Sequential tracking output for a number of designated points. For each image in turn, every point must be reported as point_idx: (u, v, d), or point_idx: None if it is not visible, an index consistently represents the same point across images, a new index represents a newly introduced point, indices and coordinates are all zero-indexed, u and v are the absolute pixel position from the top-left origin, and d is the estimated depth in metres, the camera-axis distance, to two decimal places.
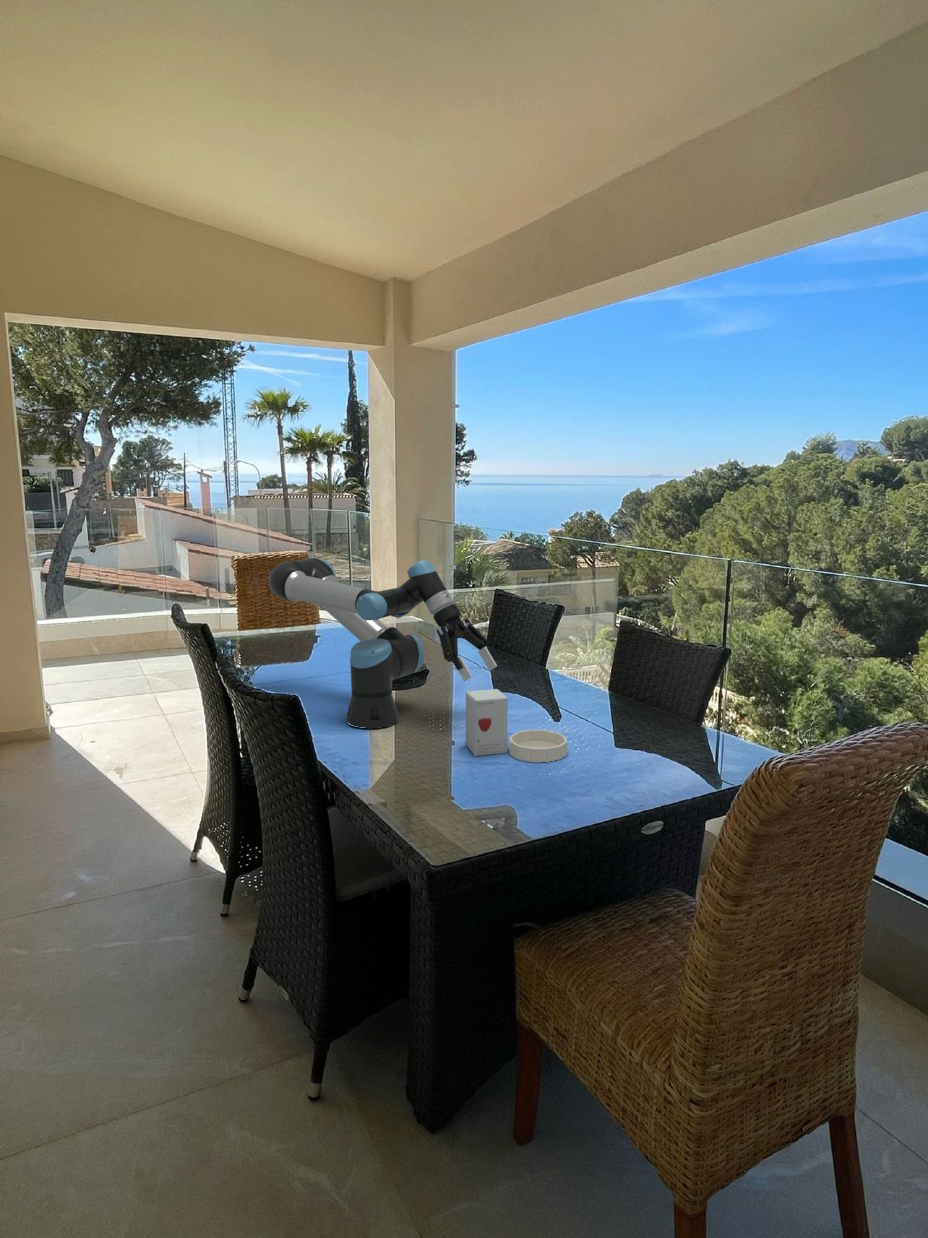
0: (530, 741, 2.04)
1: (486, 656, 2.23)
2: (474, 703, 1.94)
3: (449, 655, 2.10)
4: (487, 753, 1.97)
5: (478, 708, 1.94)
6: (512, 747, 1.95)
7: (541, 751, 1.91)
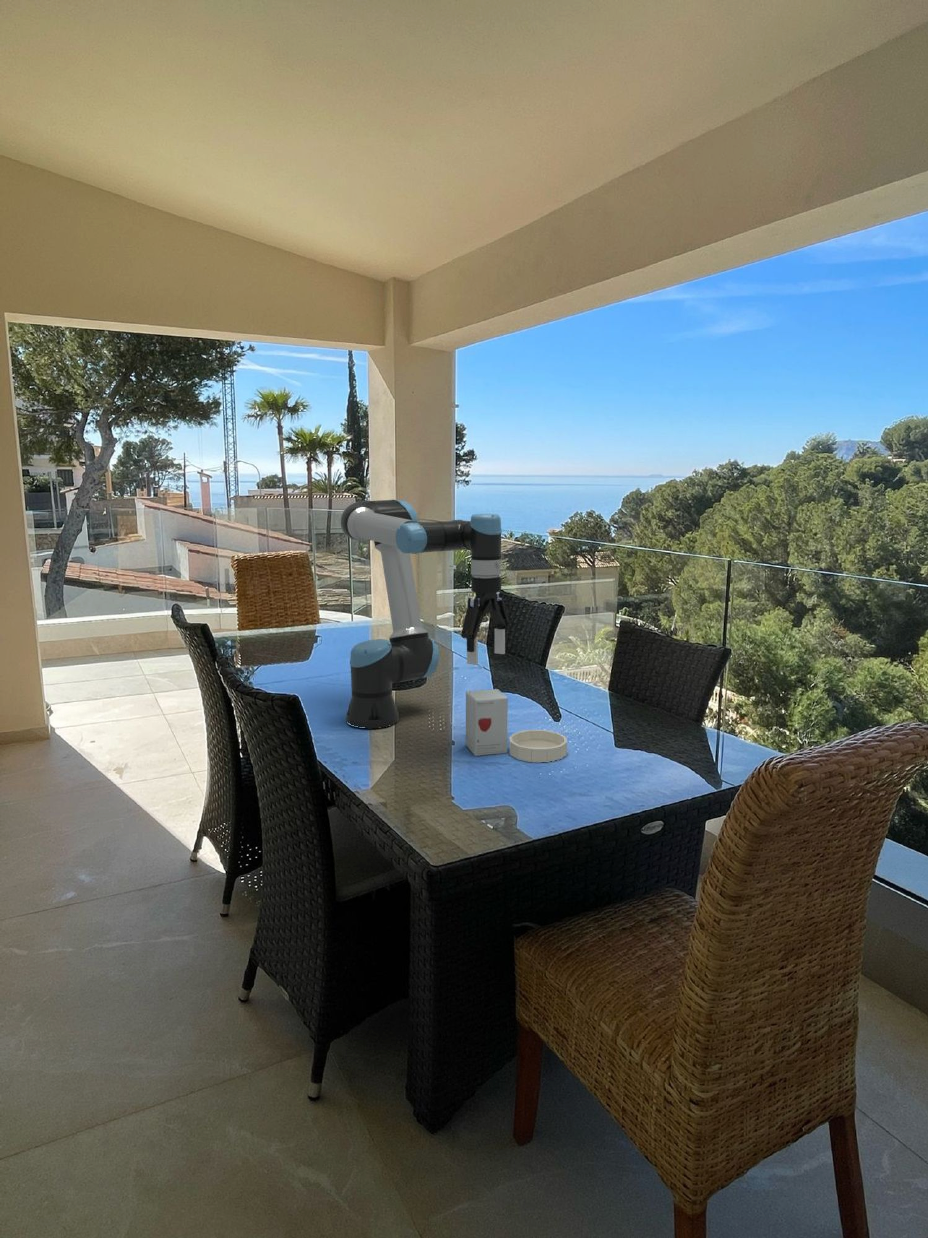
0: (530, 741, 2.04)
1: (500, 639, 2.01)
2: (474, 703, 1.94)
3: (467, 635, 1.86)
4: (487, 753, 1.97)
5: (478, 708, 1.94)
6: (512, 747, 1.95)
7: (541, 751, 1.91)
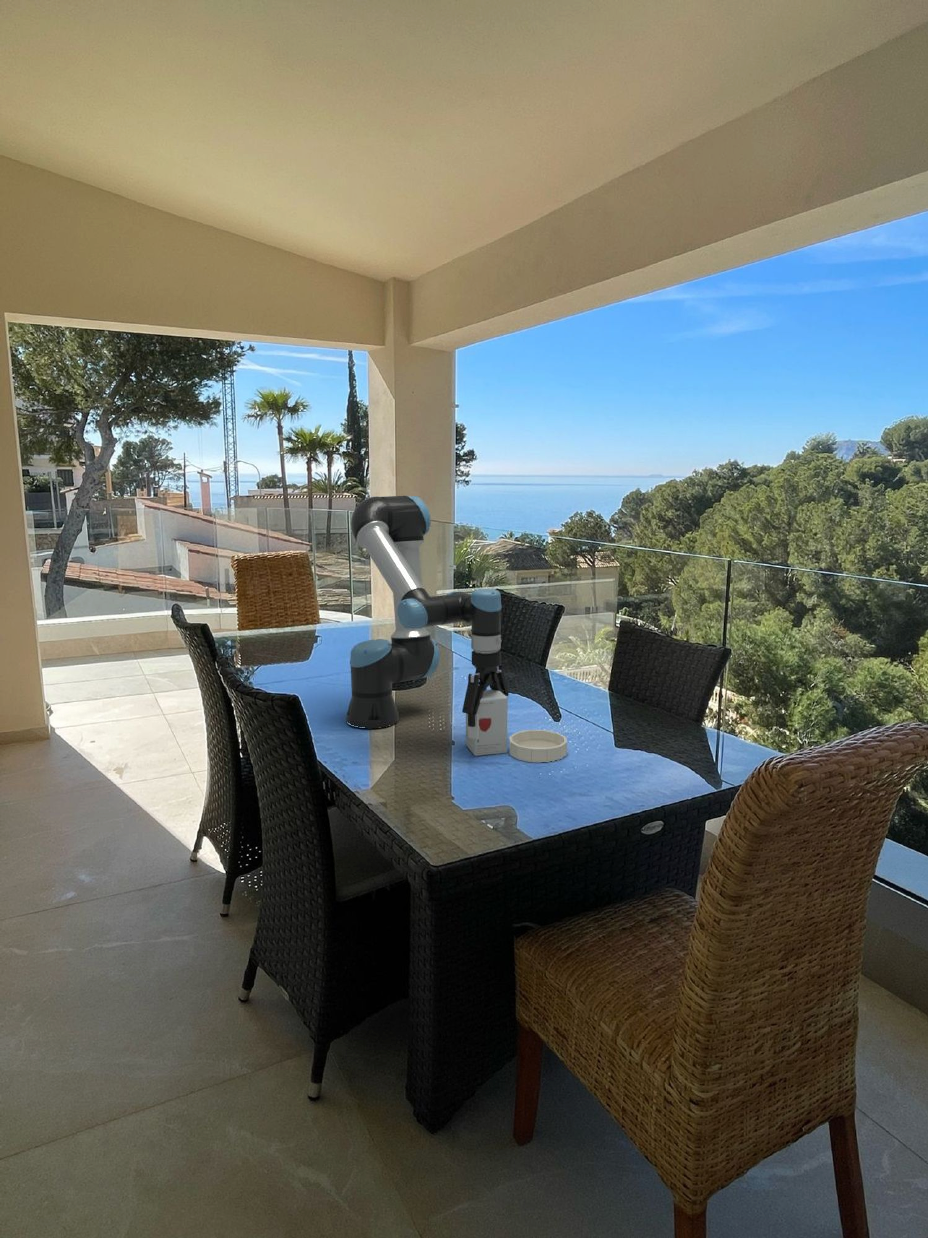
0: (530, 741, 2.04)
1: None
2: None
3: (469, 712, 1.90)
4: (487, 753, 1.97)
5: (478, 708, 1.94)
6: (512, 747, 1.95)
7: (541, 751, 1.91)
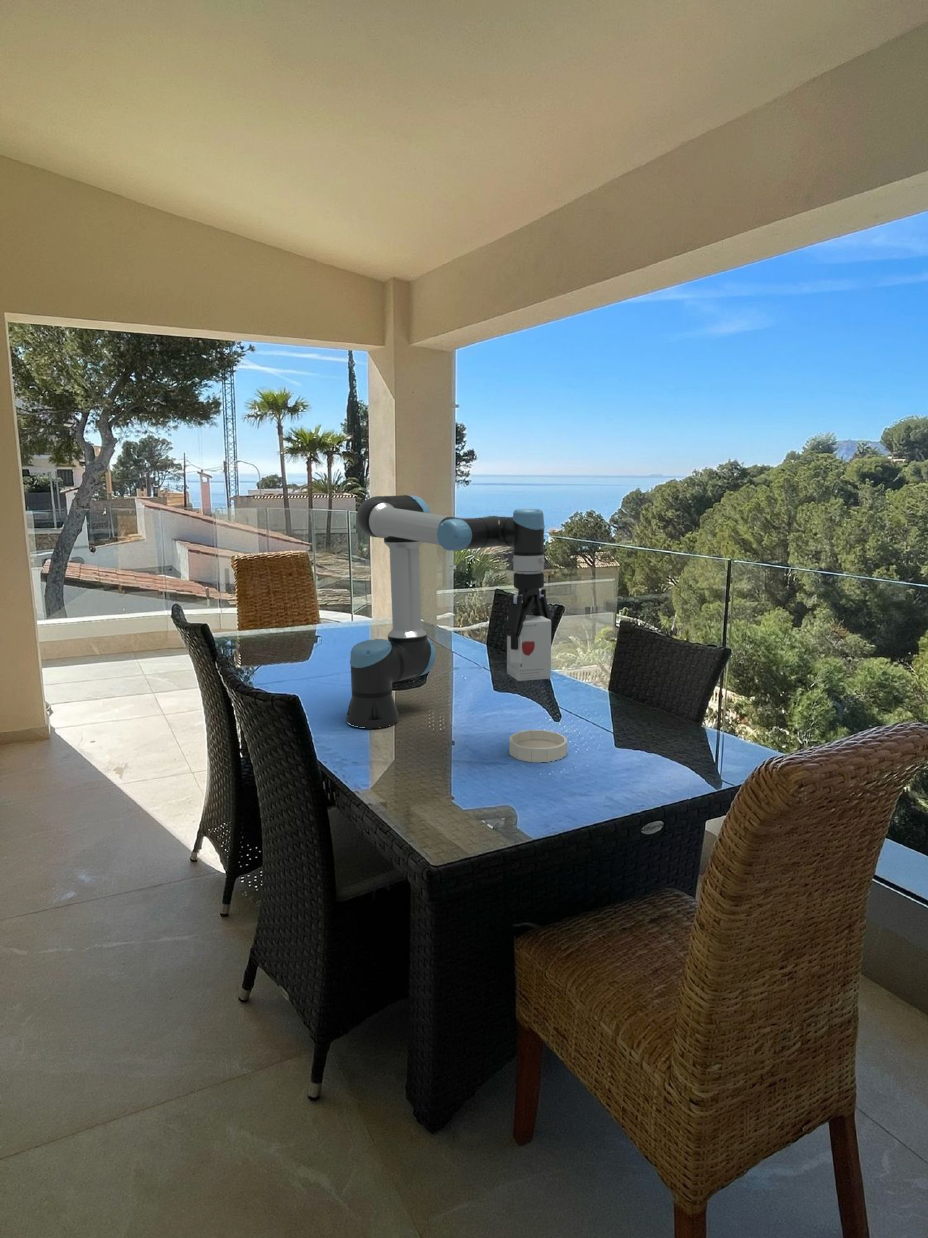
0: (530, 741, 2.04)
1: None
2: None
3: (512, 633, 1.84)
4: (530, 678, 1.90)
5: (521, 630, 1.88)
6: (512, 747, 1.95)
7: (541, 751, 1.91)
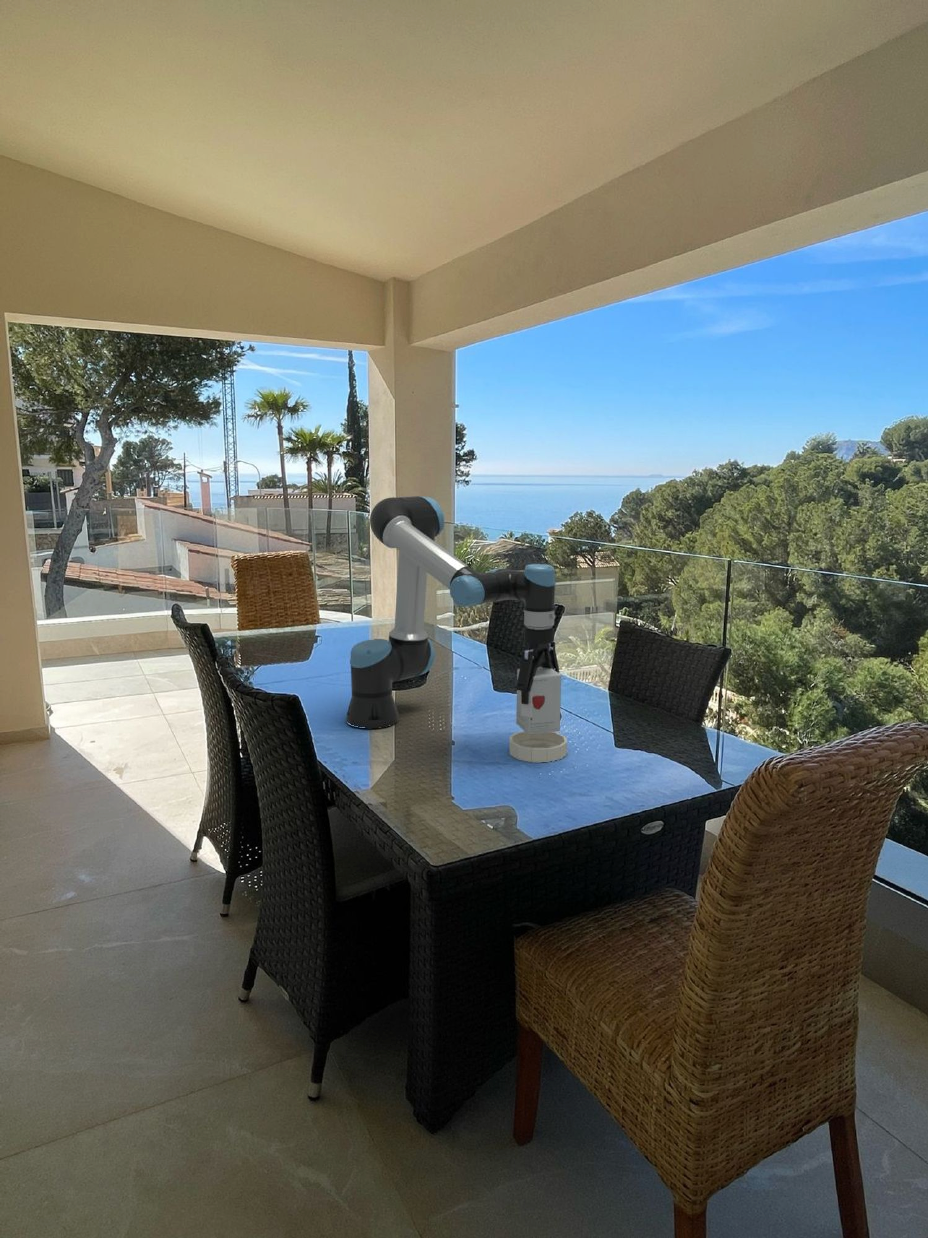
0: (530, 741, 2.04)
1: None
2: None
3: (523, 689, 1.87)
4: (540, 731, 1.93)
5: (532, 685, 1.90)
6: (512, 747, 1.95)
7: (541, 751, 1.91)
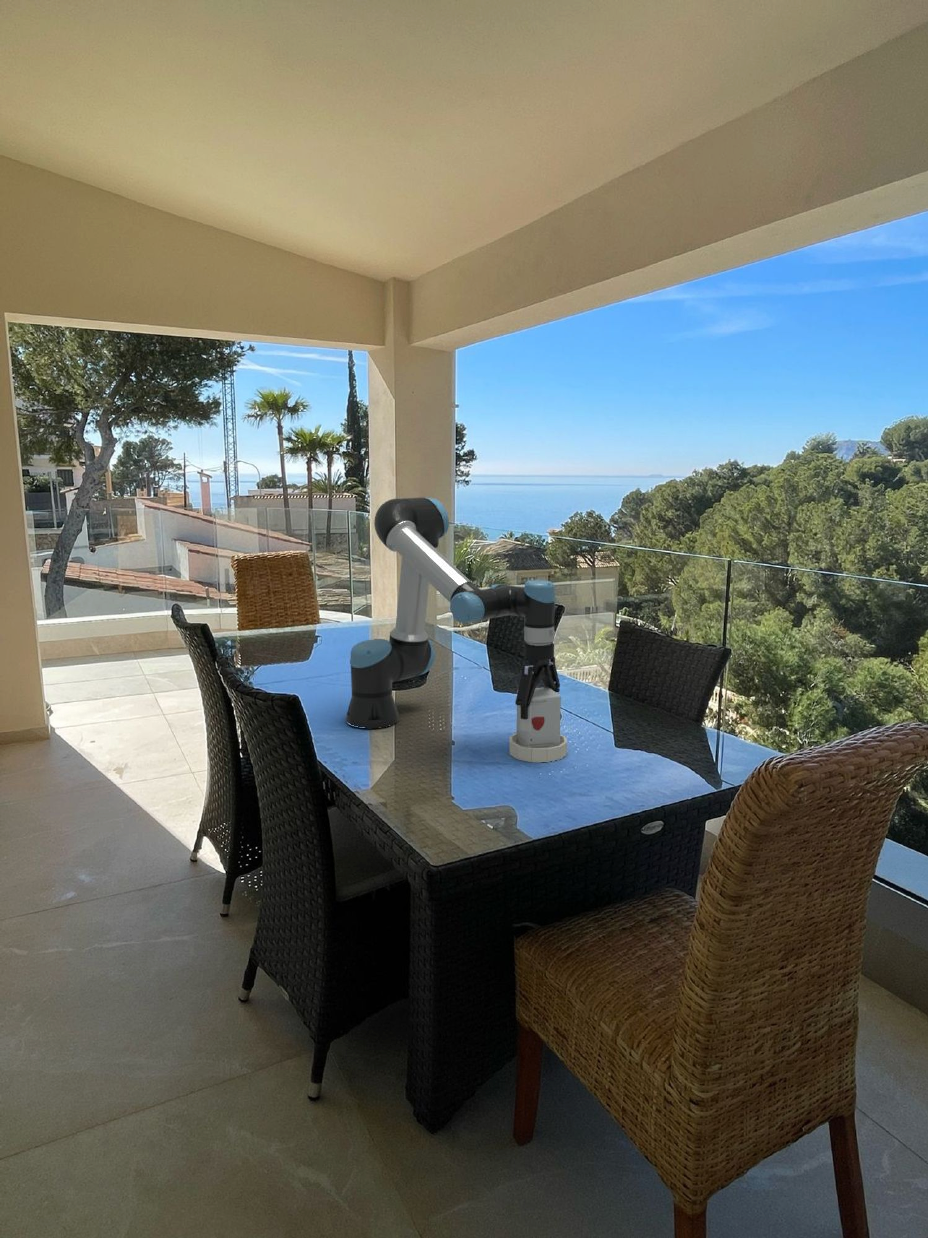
0: None
1: None
2: None
3: (522, 704, 1.87)
4: None
5: None
6: (512, 747, 1.95)
7: (541, 751, 1.91)
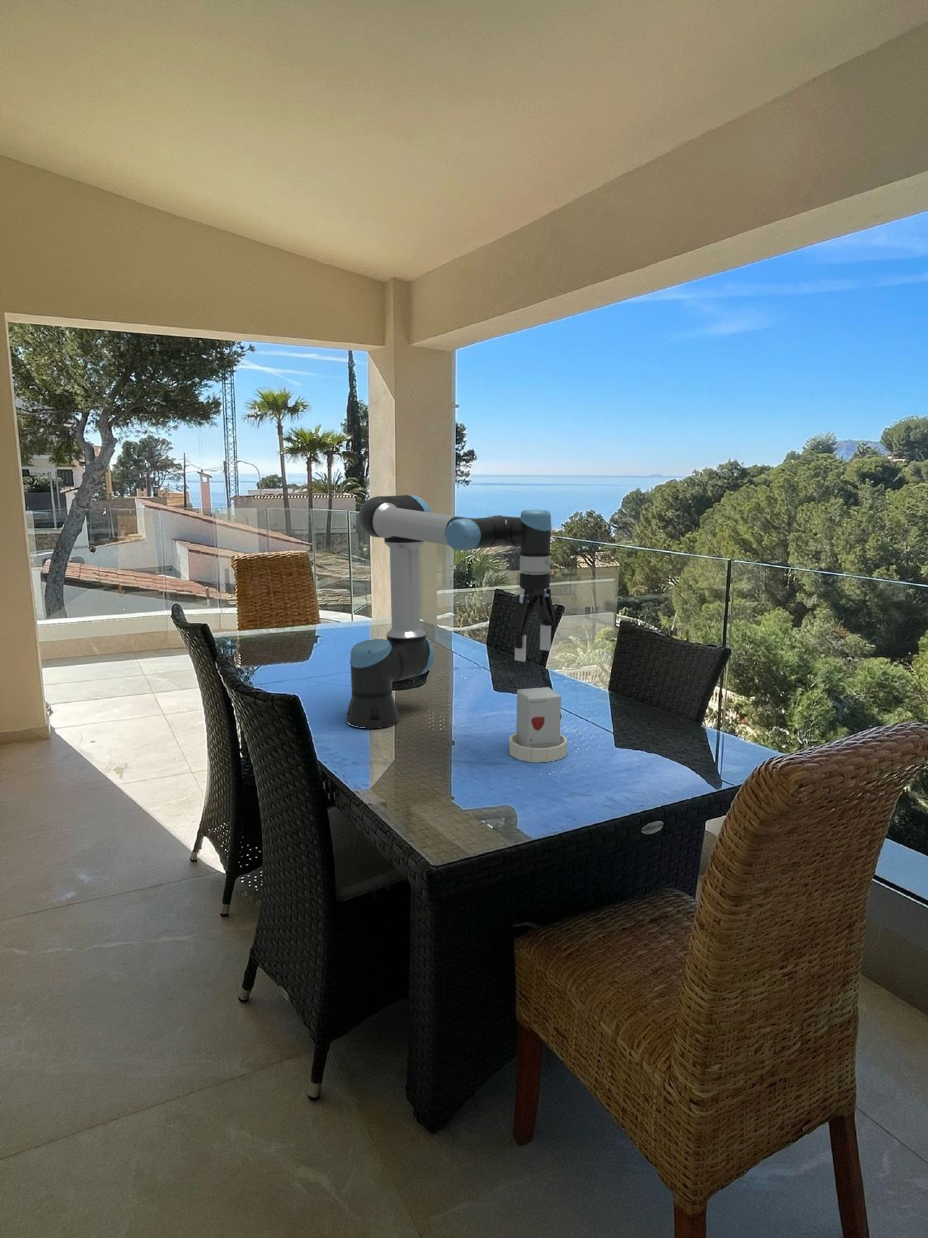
0: None
1: (545, 635, 2.01)
2: (527, 702, 1.92)
3: (517, 632, 1.86)
4: None
5: (531, 706, 1.91)
6: (512, 747, 1.95)
7: (541, 751, 1.91)
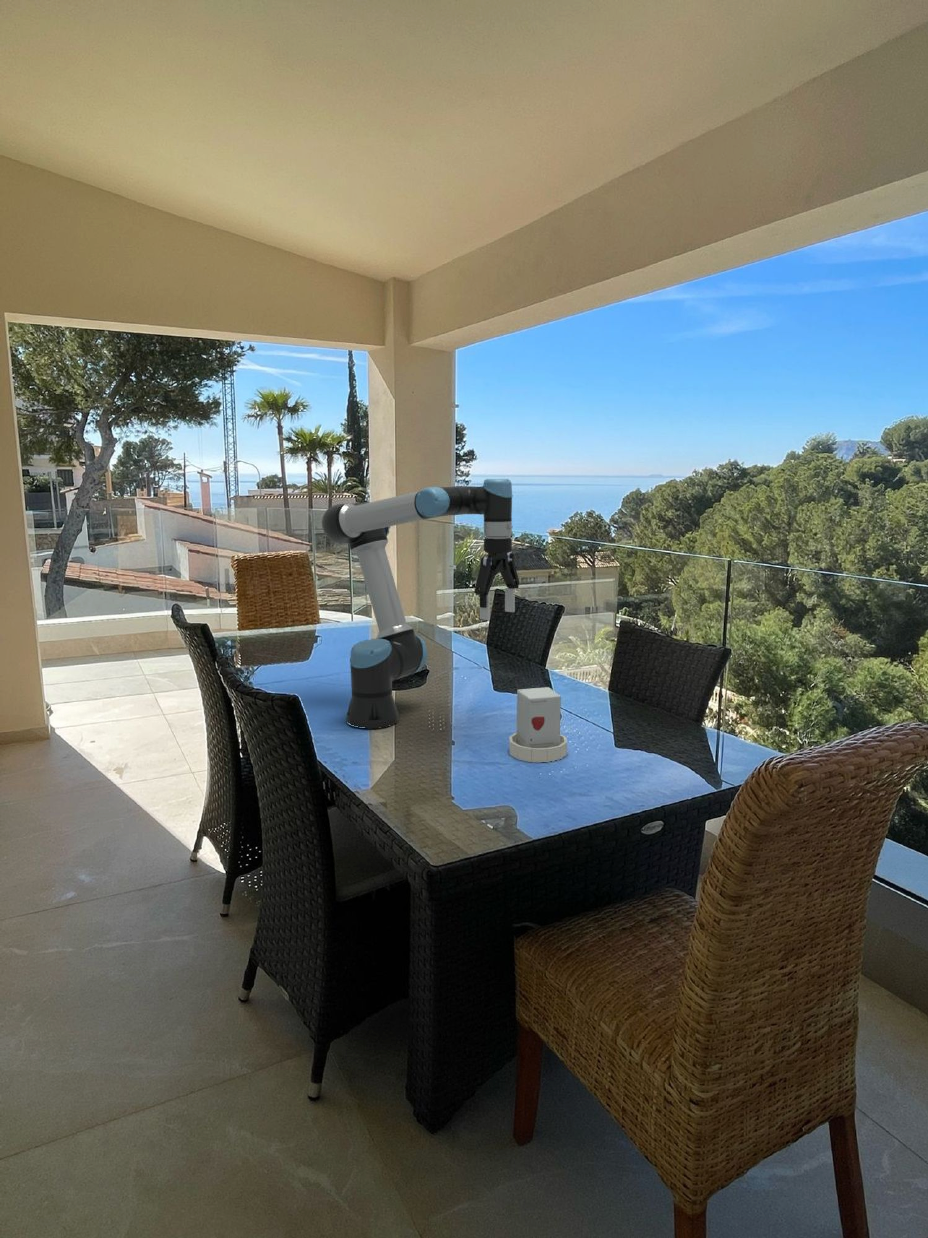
0: None
1: (510, 598, 2.14)
2: (527, 702, 1.92)
3: (480, 592, 2.00)
4: None
5: (531, 706, 1.91)
6: (512, 747, 1.95)
7: (541, 751, 1.91)
